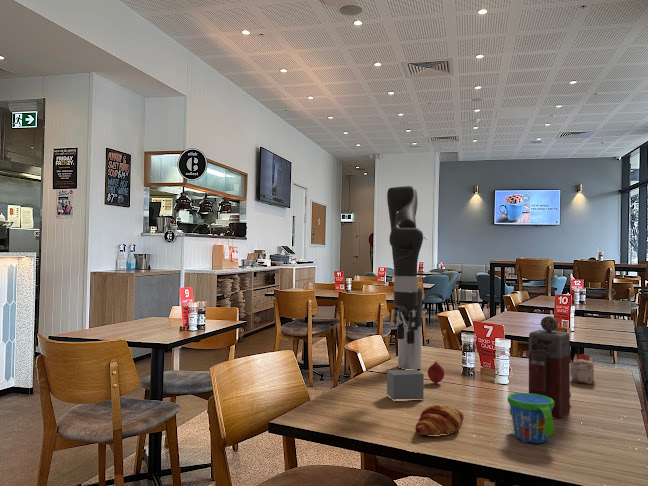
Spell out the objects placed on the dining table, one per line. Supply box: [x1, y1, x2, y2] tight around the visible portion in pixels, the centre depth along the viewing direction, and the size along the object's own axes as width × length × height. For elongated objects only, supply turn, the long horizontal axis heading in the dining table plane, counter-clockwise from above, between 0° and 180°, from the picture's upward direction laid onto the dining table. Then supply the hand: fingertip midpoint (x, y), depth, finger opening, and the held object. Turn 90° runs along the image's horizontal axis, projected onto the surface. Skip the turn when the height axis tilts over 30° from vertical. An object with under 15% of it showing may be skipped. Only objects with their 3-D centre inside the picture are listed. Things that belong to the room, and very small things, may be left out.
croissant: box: [415, 404, 465, 436], centre depth 131 cm, size 21×10×8 cm, turn 136°
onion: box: [427, 360, 445, 384], centre depth 179 cm, size 6×6×8 cm
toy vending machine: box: [528, 315, 571, 420], centre depth 146 cm, size 9×11×28 cm
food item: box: [570, 353, 595, 385], centre depth 187 cm, size 14×8×10 cm, turn 153°
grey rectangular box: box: [386, 369, 425, 400], centre depth 159 cm, size 6×10×8 cm, turn 102°
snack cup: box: [507, 392, 555, 444], centre depth 125 cm, size 16×10×10 cm
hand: (405, 341), depth 160 cm, fingers open, 8 cm apart
